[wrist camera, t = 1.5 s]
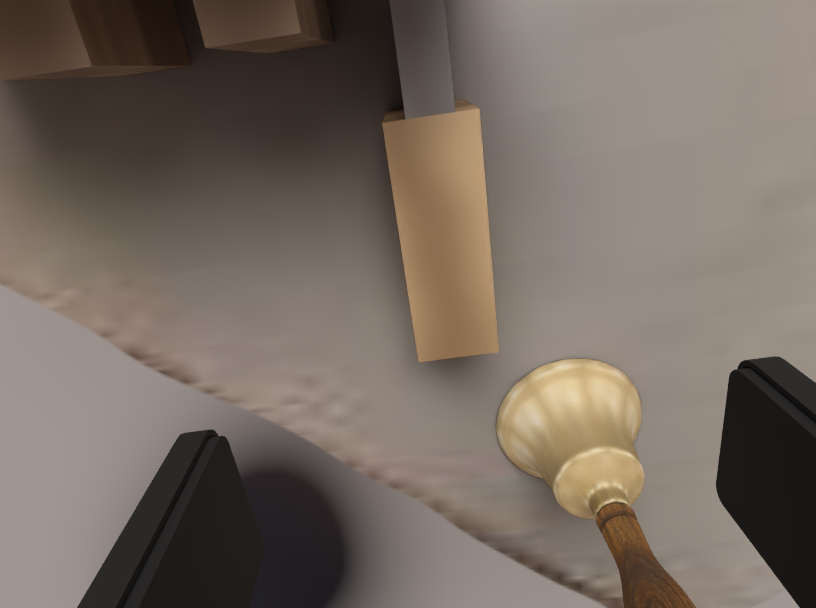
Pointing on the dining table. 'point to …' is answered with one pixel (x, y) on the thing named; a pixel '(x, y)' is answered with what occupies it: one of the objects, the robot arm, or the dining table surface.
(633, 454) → the hand bell
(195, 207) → the dining table surface
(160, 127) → the dining table surface
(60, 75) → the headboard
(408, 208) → the tan and gray block
